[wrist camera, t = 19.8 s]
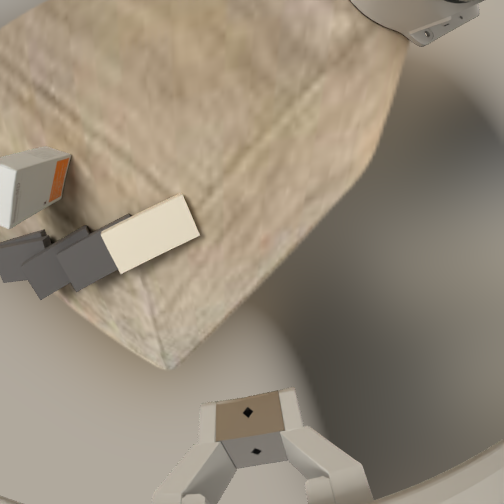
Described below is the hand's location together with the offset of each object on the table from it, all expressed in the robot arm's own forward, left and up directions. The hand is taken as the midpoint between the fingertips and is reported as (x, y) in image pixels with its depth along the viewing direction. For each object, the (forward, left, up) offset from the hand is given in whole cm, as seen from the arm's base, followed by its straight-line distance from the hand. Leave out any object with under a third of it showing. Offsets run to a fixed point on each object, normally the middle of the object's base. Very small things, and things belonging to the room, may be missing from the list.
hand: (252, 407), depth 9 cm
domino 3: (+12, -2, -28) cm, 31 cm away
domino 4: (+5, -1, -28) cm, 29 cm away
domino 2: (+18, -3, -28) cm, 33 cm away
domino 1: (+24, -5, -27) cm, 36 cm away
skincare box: (+18, -14, -29) cm, 37 cm away
